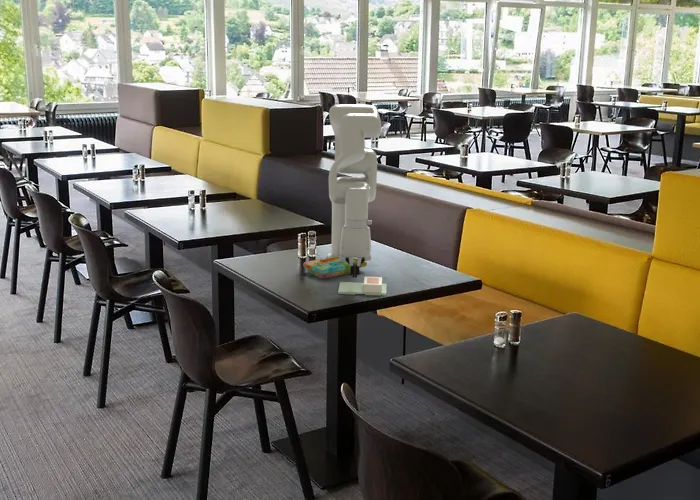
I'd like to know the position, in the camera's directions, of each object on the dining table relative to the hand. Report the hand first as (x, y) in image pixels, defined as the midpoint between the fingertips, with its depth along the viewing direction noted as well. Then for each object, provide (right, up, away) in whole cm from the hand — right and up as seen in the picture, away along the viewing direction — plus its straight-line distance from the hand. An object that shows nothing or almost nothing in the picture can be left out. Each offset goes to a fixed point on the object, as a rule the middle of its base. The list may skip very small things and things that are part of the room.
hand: (354, 276), depth 266 cm
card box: (+3, -2, 0) cm, 4 cm away
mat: (+3, -4, +1) cm, 5 cm away
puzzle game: (-7, +1, +22) cm, 23 cm away
